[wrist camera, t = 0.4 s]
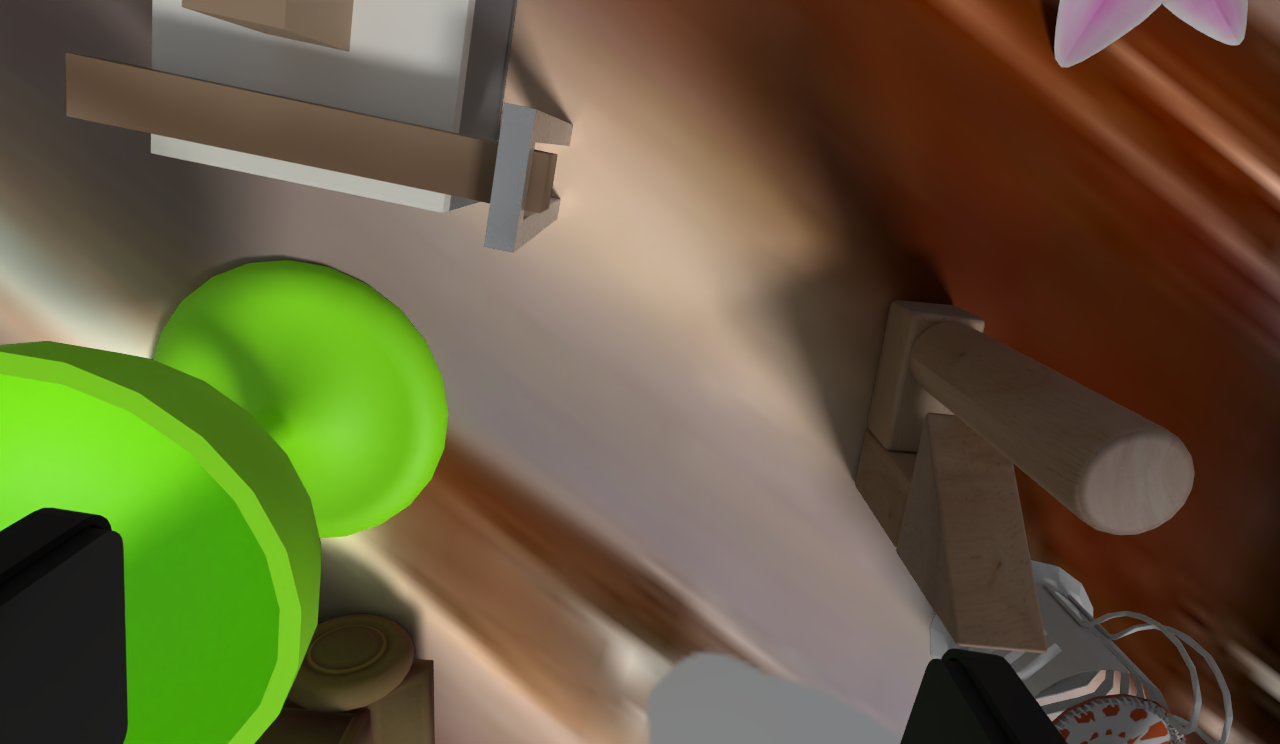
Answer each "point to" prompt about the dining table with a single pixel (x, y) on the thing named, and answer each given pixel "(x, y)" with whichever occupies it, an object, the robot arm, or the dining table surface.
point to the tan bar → (292, 130)
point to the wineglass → (227, 475)
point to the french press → (1094, 671)
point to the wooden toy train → (358, 688)
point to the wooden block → (997, 467)
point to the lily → (1138, 22)
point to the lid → (322, 70)
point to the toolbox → (504, 129)
